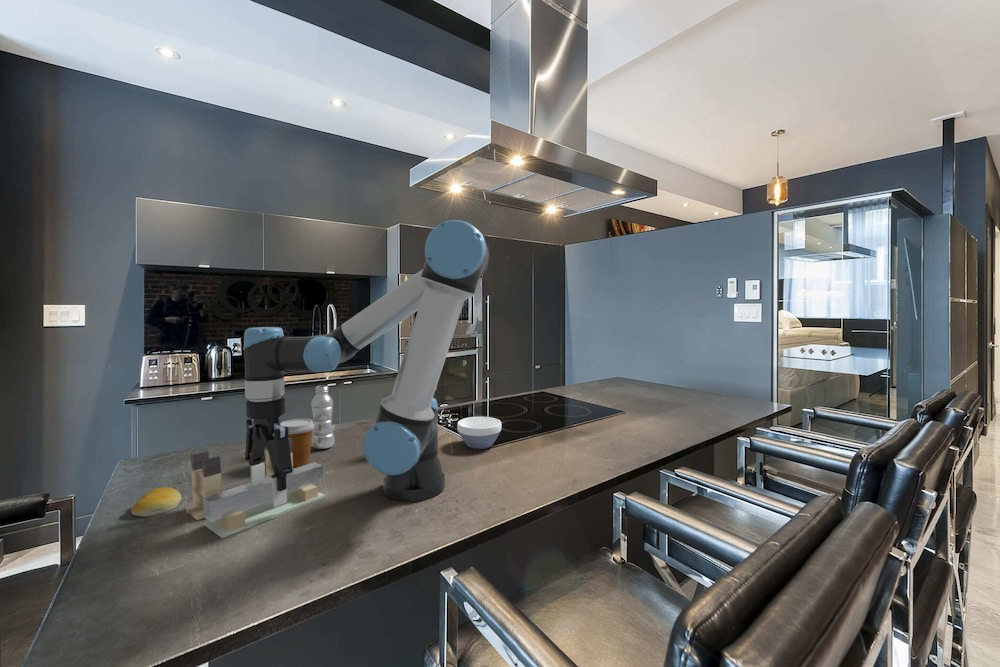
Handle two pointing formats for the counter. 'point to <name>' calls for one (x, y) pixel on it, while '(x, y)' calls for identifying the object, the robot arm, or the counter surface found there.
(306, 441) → the disposable coffee cup
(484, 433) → the bowl
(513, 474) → the counter surface
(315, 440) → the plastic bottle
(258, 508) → the rest pad
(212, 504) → the rail
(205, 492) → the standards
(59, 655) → the counter surface
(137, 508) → the bread roll
